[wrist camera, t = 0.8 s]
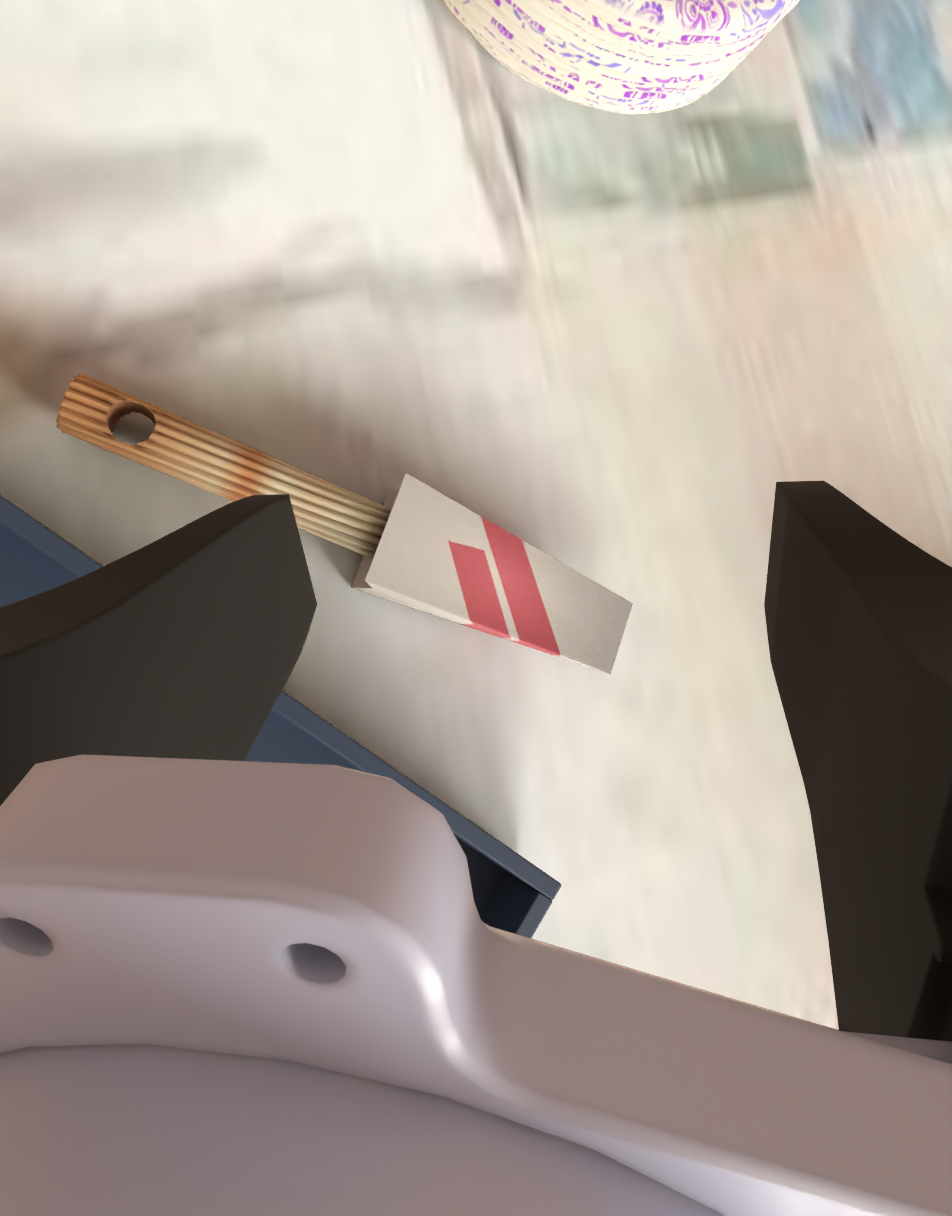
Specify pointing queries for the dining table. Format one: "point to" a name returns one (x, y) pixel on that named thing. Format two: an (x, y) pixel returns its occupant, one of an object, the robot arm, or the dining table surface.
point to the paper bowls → (621, 45)
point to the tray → (299, 736)
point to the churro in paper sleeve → (382, 534)
